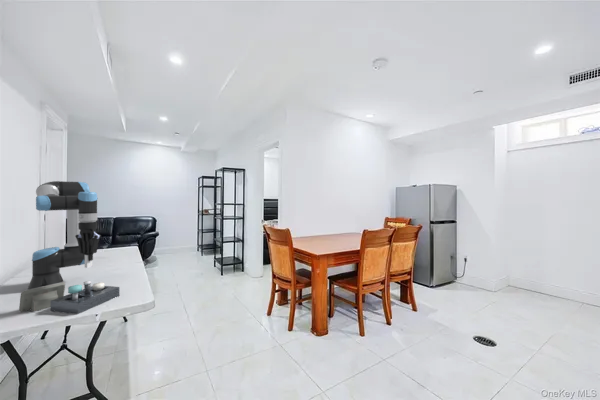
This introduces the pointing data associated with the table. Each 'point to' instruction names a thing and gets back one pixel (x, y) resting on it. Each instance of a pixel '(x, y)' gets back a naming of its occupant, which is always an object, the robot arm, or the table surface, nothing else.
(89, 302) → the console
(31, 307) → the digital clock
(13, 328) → the table surface
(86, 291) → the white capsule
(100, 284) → the knob inner
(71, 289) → the knob outer
